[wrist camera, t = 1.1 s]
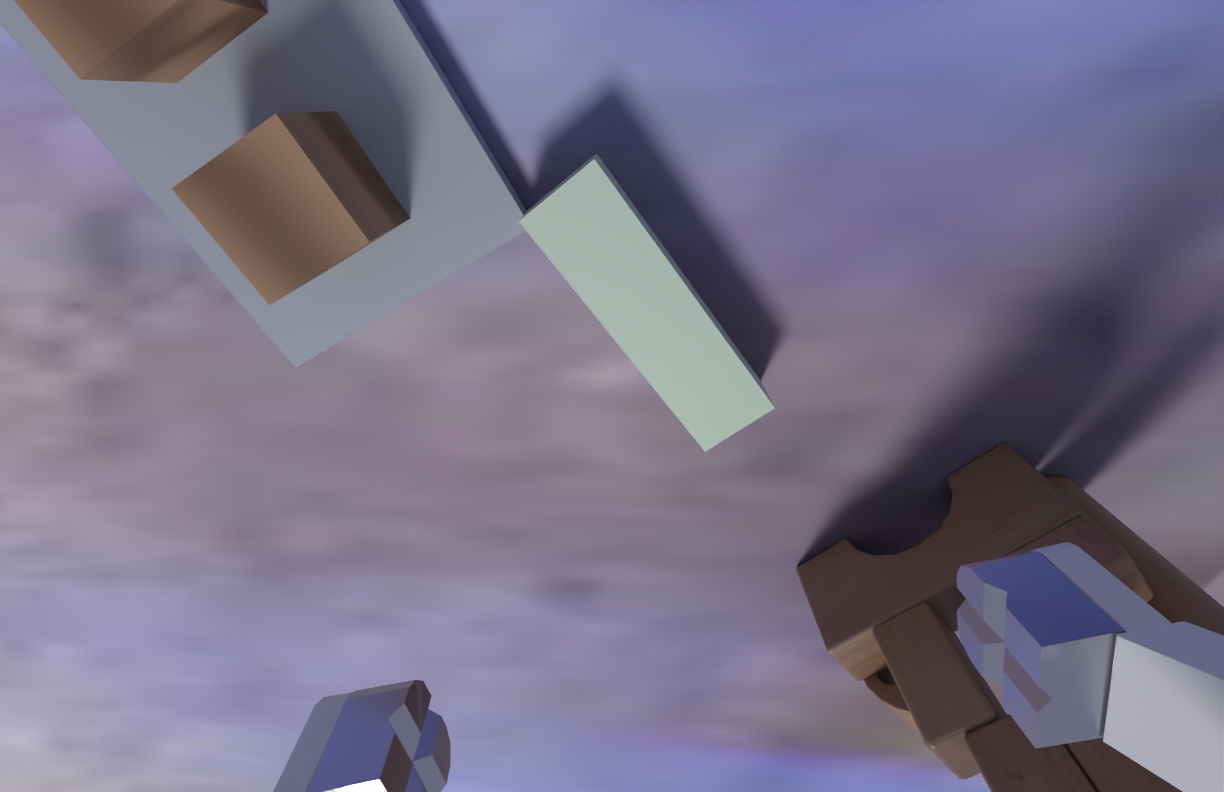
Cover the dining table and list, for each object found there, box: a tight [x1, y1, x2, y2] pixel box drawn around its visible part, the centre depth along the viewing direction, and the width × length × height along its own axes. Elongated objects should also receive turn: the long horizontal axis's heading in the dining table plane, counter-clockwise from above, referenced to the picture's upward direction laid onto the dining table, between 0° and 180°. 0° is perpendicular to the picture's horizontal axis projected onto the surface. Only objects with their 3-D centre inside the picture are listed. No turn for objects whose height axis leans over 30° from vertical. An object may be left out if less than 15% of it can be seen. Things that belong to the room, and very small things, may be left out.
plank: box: [519, 153, 775, 451], centre depth 29 cm, size 4×14×4 cm, turn 37°
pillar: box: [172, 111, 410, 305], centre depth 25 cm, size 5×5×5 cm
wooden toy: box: [797, 443, 1224, 792], centre depth 25 cm, size 16×7×25 cm, turn 131°
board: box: [0, 0, 527, 368], centre depth 26 cm, size 14×20×1 cm
